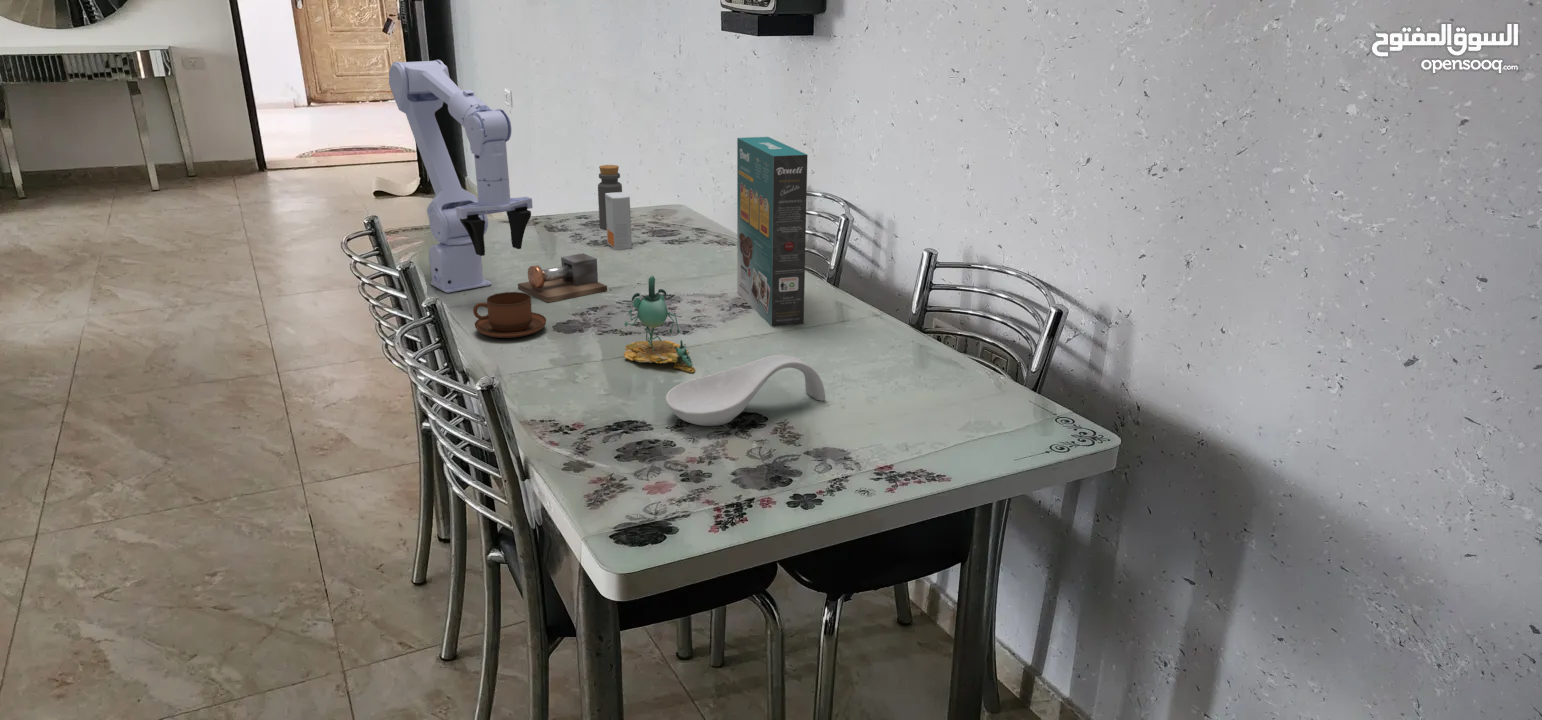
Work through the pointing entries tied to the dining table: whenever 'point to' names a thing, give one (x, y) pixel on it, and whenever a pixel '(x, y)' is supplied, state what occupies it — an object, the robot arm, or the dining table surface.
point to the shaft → (547, 274)
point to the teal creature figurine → (654, 315)
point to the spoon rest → (733, 390)
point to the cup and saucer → (508, 316)
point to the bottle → (607, 189)
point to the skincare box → (618, 220)
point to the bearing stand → (570, 281)
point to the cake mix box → (771, 229)
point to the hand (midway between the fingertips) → (498, 251)
